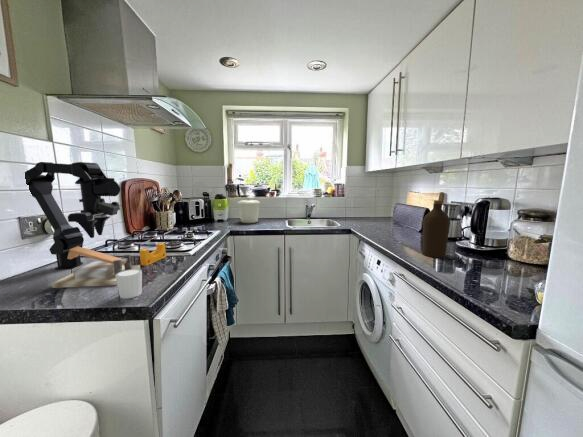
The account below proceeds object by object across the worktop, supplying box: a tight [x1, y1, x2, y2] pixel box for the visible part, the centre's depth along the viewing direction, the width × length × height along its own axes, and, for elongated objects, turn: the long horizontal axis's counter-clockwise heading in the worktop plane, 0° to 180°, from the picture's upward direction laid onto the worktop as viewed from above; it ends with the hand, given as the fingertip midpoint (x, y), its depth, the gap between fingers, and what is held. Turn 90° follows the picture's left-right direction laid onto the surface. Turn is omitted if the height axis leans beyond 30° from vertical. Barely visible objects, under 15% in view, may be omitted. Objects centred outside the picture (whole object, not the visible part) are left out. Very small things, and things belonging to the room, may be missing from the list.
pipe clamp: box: [139, 242, 167, 267], centre depth 111 cm, size 12×4×6 cm, turn 169°
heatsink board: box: [51, 254, 141, 289], centre depth 92 cm, size 20×16×7 cm
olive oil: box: [421, 199, 451, 259], centre depth 116 cm, size 11×11×25 cm
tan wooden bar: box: [67, 246, 128, 266], centre depth 91 cm, size 17×5×4 cm, turn 97°
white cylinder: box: [115, 269, 143, 299], centre depth 78 cm, size 7×7×7 cm
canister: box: [237, 196, 261, 224], centre depth 206 cm, size 18×18×21 cm
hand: (96, 236), depth 100 cm, fingers open, 4 cm apart
